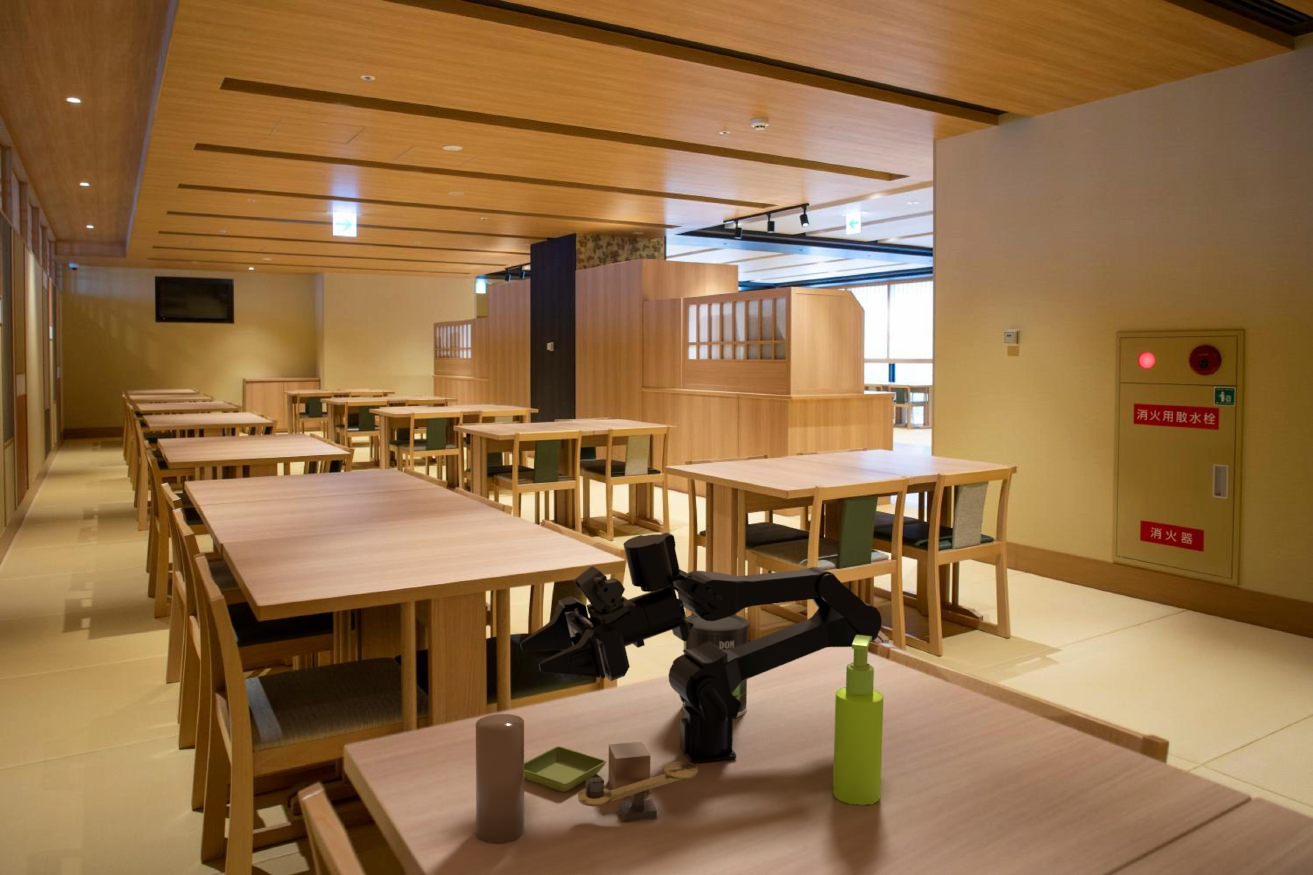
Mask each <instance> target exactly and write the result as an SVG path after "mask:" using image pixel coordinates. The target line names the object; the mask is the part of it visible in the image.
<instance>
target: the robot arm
mask: <svg viewBox="0 0 1313 875" xmlns="http://www.w3.org/2000/svg"><path fill="white" fill-rule="evenodd" d="M623 548H624V553H625V554H624V555H625V559H626V563H627V566H628V571H629V576H630V580H631V584H632V586H634V587H638V588H640V589H641V591H642V592H645V593H644V594H640V595H638V596H635V597H631V598H629V599H628V598H626V597H624V595H623V594H624V592H625V590H626V589H625V586H624V585H623V584H622V582H621V581H620V580H619V579H618V578H614V577H613V578H608V577H607V576H606V575H605V574H604V573H603V572H602V571H601V570H599V569H598V568H596V566H593V565H592V566H590V567H589V568H587V569H586V570H585V571H583V572H582V573H581V574H580V575H578V576H577V577H576V578H574V579H573V582H574V584H575V585H576V587H577V588H579V589H580V590H581V592H582V593H583V594H584V596H585V598H586V599H587V600H588V602H589V603H588V604H584V603H583V602H581V601H580V600H579V599H577V598H576V597H573V596H571V595H570V596H568V597H565V598H561V599H558V604H556V606H555V612H554V615H553V617H552V619H551V620H550V621H549V622H548V623H545V625H543V626H542V627H540V628H539V629H538V630H536V631H535V632H533V633H532V634H530V635H529V636H528V637H526V638H525V639H524V640H522V641H521V642H520V643H519V645H520V648H521V651H524V652H531V651H532V652H537V651H539V652H541V651H560V652H558V653H556V654H554V655H552V656H550V657H548V658H545V659H544V660H543V661H541V662H539V664H538V667H539V672H541V673H547V674H559V675H570V676H572V675H573V676H581V677H590V678H591V677H592V678H597V679H598V678H599V679H601V680H604V679H605V678H607V679H608V680H609V681H610V682H612V681H616V680H617V679H620V678H623V677H625V676H626V675H627V672H628V671H629V669H630V662H629V658H628V654H627V650H626V647H628V646H631V645H634V646H635V647H636V648H641V647H643V646H645V645H646V644H645V641H646V640H647V639H650V638H653V637H655V636H658V635H662V634H664V633H667V632H669V631H672V634H673V635H674V636H675V637H677V638H678V639H680V641H683V642H684V641H687V639H688V637H689V634H690V630H691V629H692V627H693V626H694V624H693V623H692V622H690V621H689V620H687V619H686V617H687V615H686V610H687V611H689V612H690V613H692V614H693V615H694V614H695V615H697V616H699V617H700V618H702V619H704V620H706V621H716V620H720V619H723V618H726V617H729V616H732V615H737V614H738V613H740V612H741V611H742V610H744V609H747V608H750V607H751V608H752V607H756V606H758V607H759V606H765V605H766V606H767V605H773V604H781V603H790V602H799V601H800V602H801V601H809V600H813V603H814V604H815V606H816V607H818V608H817V609H816V611H815V612H814V614H813V615H812V616H810V618H808V619H806V620H803V621H800V622H798V623H795V624H793V625H790V626H787V627H784V628H781V629H779V630H776V631H774V632H771V633H768V634H766V635H764V636H761V637H759V638H756V639H752V640H750V641H748V643H745V644H742V645H740V646H737V647H734V648H732V649H729V650H721V649H720V648H718V647H717V646H715V645H714V644H712V643H710V642H706V643H703V644H701V645H699V646H698V647H696V648H694V649H689V650H688V649H684V648H683V650H682V652H683V654H681V655H679V656H678V657H676V658H675V659H673V661H672V664H671V666H670V668H669V671H668V682H669V685H670V687H671V688H672V690H674V692H676V693H677V694H678V695H679V698H680V701H681V702H682V703H683V702H685V703H686V704H687V705H688V706H686V707H684V710H683V717H681V718H680V719H679V720H680V721H679V722H680V723H679V747H680V748H681V750H682V751H683V753H684V754H685V755H686V757H687V758H688V759H689V761H690V763H692V764H694V763H705V762H715V761H726V760H734V759H737V754H736V752H735V751H734V750H733V734H734V733H733V732H734V731H733V730H734V729H733V728H734V727H733V726H734V725H733V724H734V719H736V717H737V715H738V712H739V709H740V706H741V702H740V701H739V700H738V699H736V698H735V697H734V696H733V695H732V693H733V692H734V691H735V689H736V688H737V687H738V686H739V684H740V683H741V682H743V681H744V680H746V679H747V680H749V679H751V678H755V677H756V676H759V675H762V674H764V673H766V672H769V671H771V670H774V669H776V668H779V667H781V666H783V665H786V664H790V663H791V662H793V661H796V660H800V659H802V658H804V657H806V656H808V655H809V656H810V655H811V654H813V653H816V652H819V651H821V650H824V649H827V648H852V643H853V640H854V638H855V636H856V635H864V636H872V640H871V641H870V644H871V643H873V641H875V640H876V639H877V638H878V637H879V633H880V631H881V628H882V625H883V624H882V622H883V621H882V616H881V613H880V611H879V609H878V608H877V607H875V606H874V605H871V604H869V603H866V602H864V601H863V600H862V599H861V598H860V597H859V596H857V595H856V594H855V593H854V592H853V591H852V590H850V589H849V588H848V587H847V586H845V584H843V583H842V581H840V579H838V578H837V576H836V575H835V574H834V573H832V572H831V571H829V570H828V571H827V570H825V569H823V568H821V567H817V566H811V567H808V568H806V569H805V568H804V569H796V570H785V571H777V572H776V571H775V572H766V573H758V574H756V573H755V574H747V575H732V574H728V573H722V572H717V571H708V570H706V571H705V570H692V571H690V572H686V571H684V570H683V569H680V565H679V561H678V556H677V552H676V540H675V537H674V535H673V533H672V534H671V533H669V532H664V533H659V534H654V533H653V534H647V535H642V534H641V535H637V536H633V537H632V538H629V539H627V540H626V541H624V542H623ZM676 592H677V593H676ZM684 653H685V654H684ZM737 718H738V717H737Z"/></svg>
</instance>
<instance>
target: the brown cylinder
mask: <svg viewBox="0 0 1313 875" xmlns="http://www.w3.org/2000/svg"><path fill="white" fill-rule="evenodd" d="M524 763H525V720H524V719H523V718H522V717H521V716H518V715H516V714H511V713H497V714H490V715H486V716H483V717H481V718H479V719H478V720H477V721H476V722H475V809H476V810H475V811H476V812H475V813H476V814H475V816H476V817H475V818H476V819H475V825H476V826H475V827H476V829H475V830H476V832H475V833H476V837H477V838H478V839H479V840H480V841H482V842H484V843H488V844H499V845H500V844H506V843H507V844H508V843H511V842H514V841H515V840H518V839H519V838H521V837H522V836H523V834H524V833H525V777H524Z"/></svg>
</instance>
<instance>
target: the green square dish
mask: <svg viewBox="0 0 1313 875" xmlns="http://www.w3.org/2000/svg"><path fill="white" fill-rule="evenodd" d="M606 764H607V761H606V760H605V759H603V758H599V757H595V756H593V755H589V754H586V753H582V752H580V751H577V750H573V749H570V748H567V747H564V746H561V745H560V746H559V745H558V746H555V747H553V748H550V749H548V750H547V751H545V752H543V753H541V754H539V755H537V756H535V757H533V758H530V759H529V760H527V761H524V779H526V780H527V781H530V782H533V783H537V784H539V785H542V786H546V787H548V788H551V789H554V790H556V791H559V792H563V793H565V792H568V791H570V790H571V789H573V788H575V787H577V786H579V785H580V784H582V783H584V782H586V780H587V779H589V778H594V776H596V775H597V774H598V773H599V772H600V771H601V770H602V768H604V766H605V765H606Z"/></svg>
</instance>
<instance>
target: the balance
mask: <svg viewBox="0 0 1313 875" xmlns="http://www.w3.org/2000/svg"><path fill="white" fill-rule="evenodd" d="M697 775H698V767H697V765H695V764H694V763H693V762H688V761H682V760H681V761H680V760H679V761H673V762H668V763H667V764H666V765H665V766H664V773H663V774H660V775H656V776H653V777H650V778H649V779H646V780H643V781H640V782H636V783H633V784H630V785H627V786H623V787H620V788H617V789H614V790H612V789H611V790H609V789H607V788H605V780H604V779H603V778H601V777H594V776H593V777H591V778H589V779H587V780H586V781H585V787H584V788H583V789H581V790H580V791H579V792H578V794H577V799H578V800H577V801H578V802H579V803H580V804H581V805H584V806H587V807H601V806H605V805H608V804H609V803H610V802H613V801H616V800H619V799H622V798H626V797H629V796H631V797H632V798H631V801H629V800H628V801H620V802H619V809H618V811H619V813H620V815H621V817H622V820H623V822H624V823H628V822H638V821H646V820H657V819H658V810H657V807H656V805H655V803H654V802H653V799H652V798H650V799H645V794H644V791H645V790H649V789H650V790H652V789H655V788H658V787H661V786H663V785H664V786H665V785H668V784H671V783H674V782H677V781H680V780H690V779H692V778H695V777H696V776H697Z"/></svg>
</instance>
